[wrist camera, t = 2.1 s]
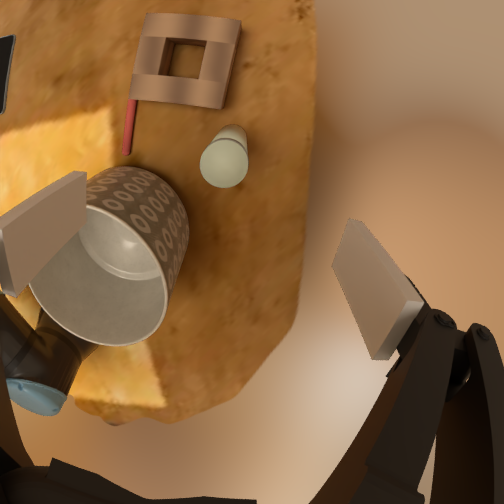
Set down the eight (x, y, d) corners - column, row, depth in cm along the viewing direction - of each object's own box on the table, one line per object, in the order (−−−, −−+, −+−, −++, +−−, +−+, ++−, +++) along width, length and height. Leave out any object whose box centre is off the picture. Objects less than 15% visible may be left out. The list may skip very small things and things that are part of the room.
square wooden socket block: (140, 98, 37) (128, 99, 32) (156, 21, 31) (146, 12, 27) (223, 108, 38) (220, 109, 34) (241, 29, 33) (241, 20, 28)
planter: (196, 165, 42) (167, 210, 26) (190, 277, 51) (170, 357, 35) (80, 160, 40) (9, 199, 24) (89, 264, 49) (43, 331, 33)
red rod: (130, 155, 41) (128, 156, 40) (123, 154, 40) (120, 155, 39) (141, 81, 35) (138, 80, 34) (133, 80, 35) (130, 80, 34)
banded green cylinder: (215, 149, 41) (195, 184, 25) (220, 121, 39) (203, 137, 23) (243, 154, 41) (243, 192, 26) (249, 127, 40) (253, 145, 24)
